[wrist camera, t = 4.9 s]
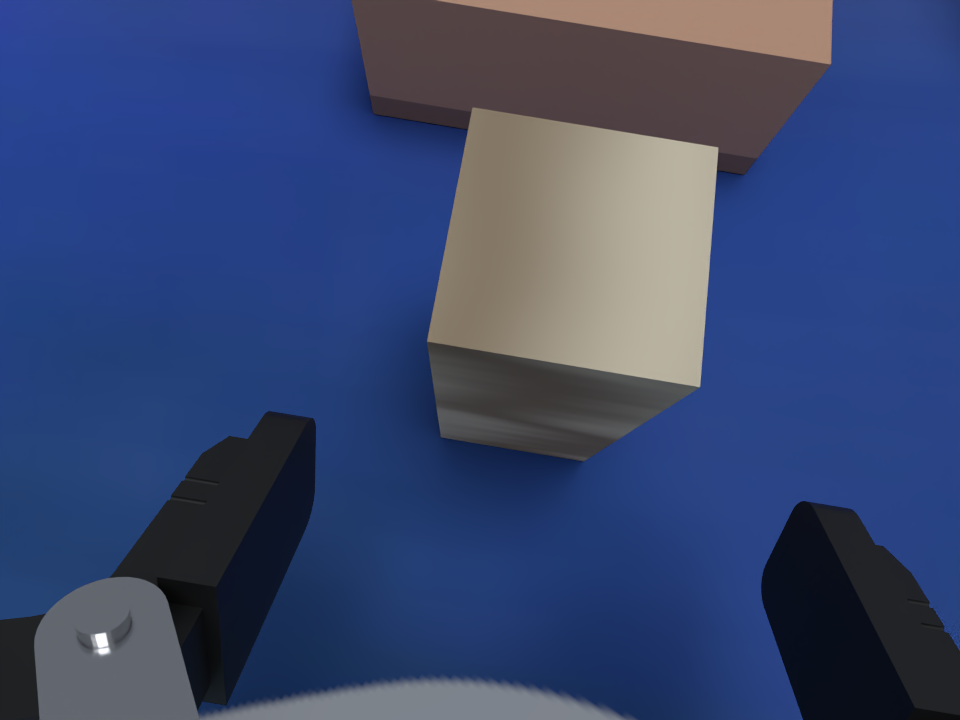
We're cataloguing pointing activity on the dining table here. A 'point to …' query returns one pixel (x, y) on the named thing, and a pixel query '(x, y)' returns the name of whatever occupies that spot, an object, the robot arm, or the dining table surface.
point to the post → (570, 284)
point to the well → (602, 64)
